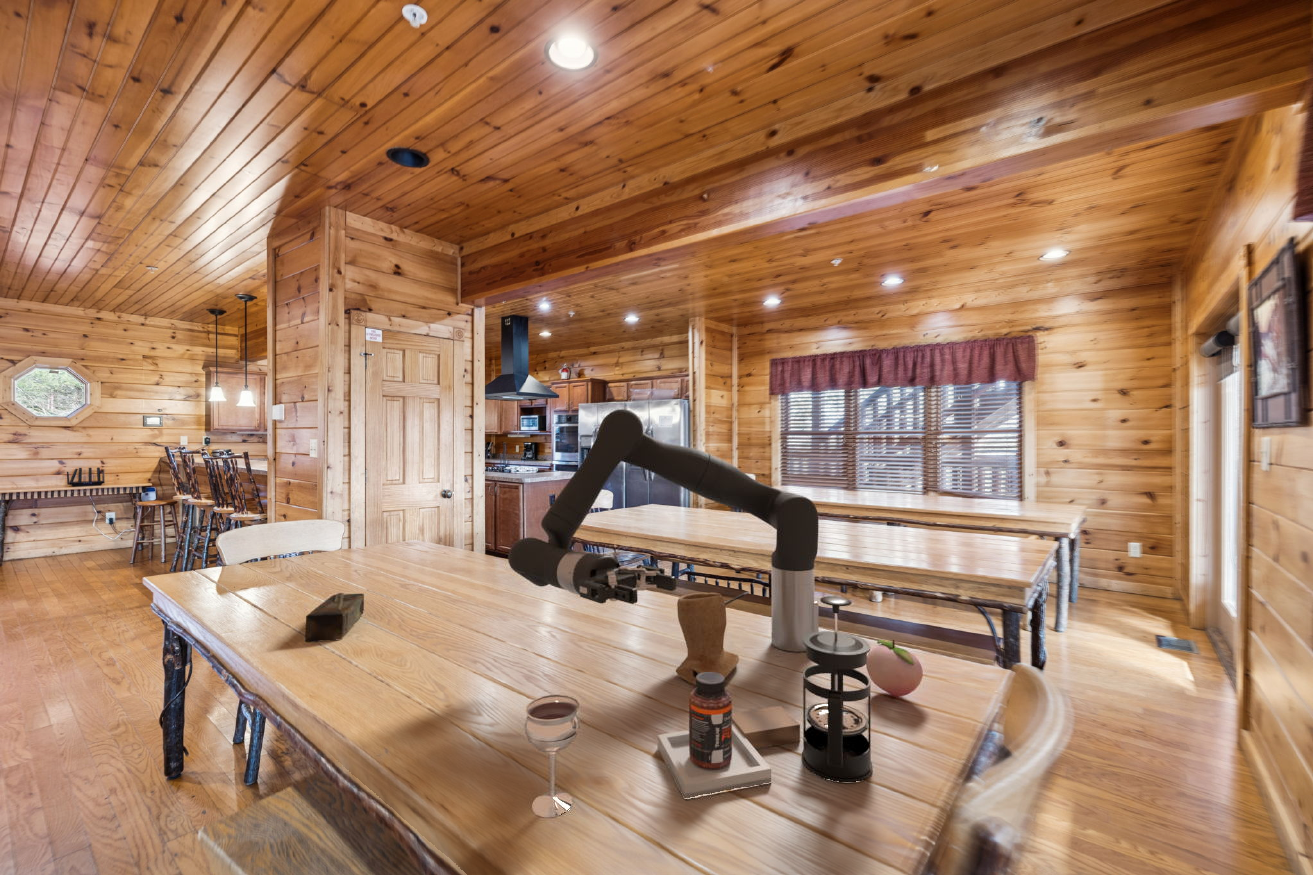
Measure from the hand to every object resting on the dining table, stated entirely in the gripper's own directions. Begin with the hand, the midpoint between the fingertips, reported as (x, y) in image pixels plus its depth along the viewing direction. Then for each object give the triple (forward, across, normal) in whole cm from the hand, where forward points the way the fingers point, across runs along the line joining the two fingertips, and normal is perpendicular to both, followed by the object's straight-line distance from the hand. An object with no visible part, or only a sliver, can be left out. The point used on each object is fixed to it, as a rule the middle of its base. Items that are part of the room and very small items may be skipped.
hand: (655, 590), depth 84 cm
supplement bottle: (+10, -1, +22) cm, 24 cm away
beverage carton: (-90, -19, +20) cm, 94 cm away
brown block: (+11, +11, +23) cm, 28 cm away
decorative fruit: (+21, +37, +24) cm, 49 cm away
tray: (+10, -1, +22) cm, 25 cm away
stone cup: (-10, +22, +23) cm, 34 cm away
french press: (+23, +11, +23) cm, 35 cm away
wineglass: (+1, -21, +22) cm, 30 cm away
